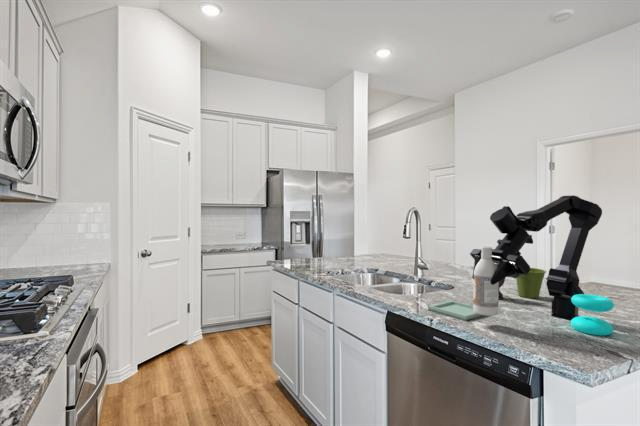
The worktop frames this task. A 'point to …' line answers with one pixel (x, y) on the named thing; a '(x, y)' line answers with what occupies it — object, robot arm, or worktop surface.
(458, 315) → the tray
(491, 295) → the bath foam
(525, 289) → the plant pot
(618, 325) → the worktop surface
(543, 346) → the worktop surface
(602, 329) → the donuts
